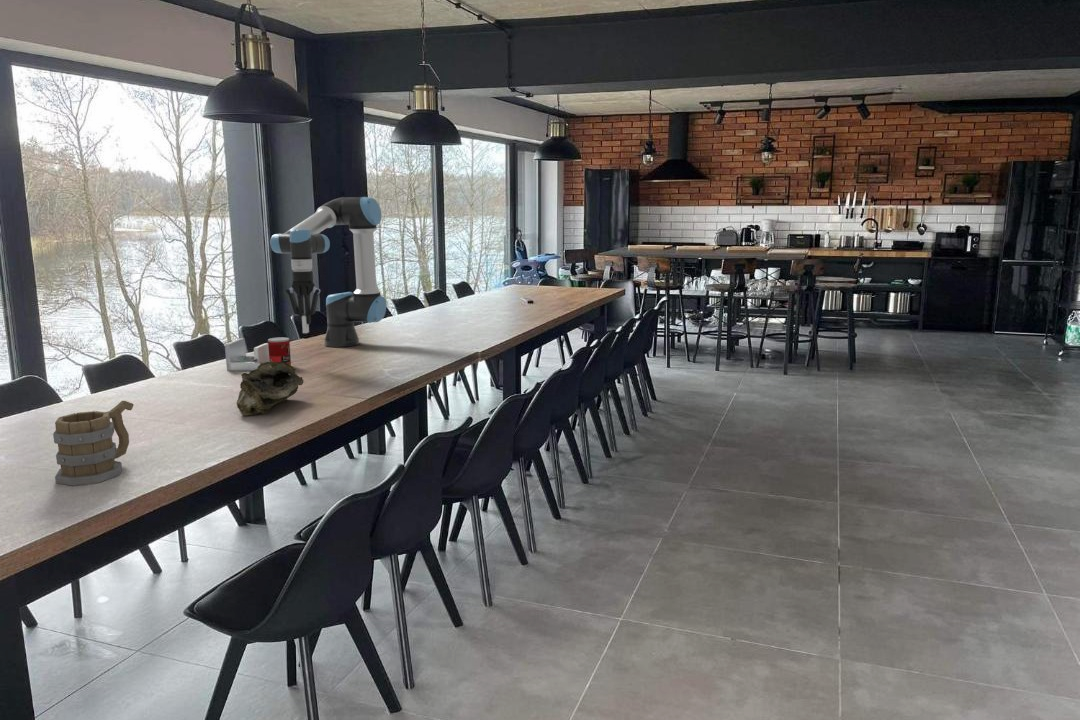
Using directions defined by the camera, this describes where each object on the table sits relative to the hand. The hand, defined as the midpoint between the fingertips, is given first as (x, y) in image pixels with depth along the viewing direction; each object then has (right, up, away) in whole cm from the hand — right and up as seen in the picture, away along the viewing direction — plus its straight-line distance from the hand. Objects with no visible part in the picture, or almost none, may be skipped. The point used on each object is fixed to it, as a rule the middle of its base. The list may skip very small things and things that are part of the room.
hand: (305, 332), depth 293 cm
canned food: (-11, -13, +3) cm, 18 cm away
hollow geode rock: (+7, -25, -56) cm, 62 cm away
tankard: (-12, -37, -114) cm, 121 cm away
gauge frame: (-22, -13, +4) cm, 26 cm away
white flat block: (-18, -13, +2) cm, 22 cm away
